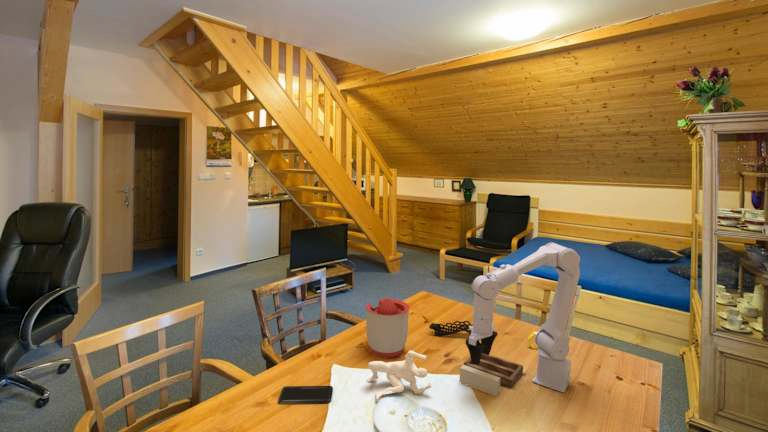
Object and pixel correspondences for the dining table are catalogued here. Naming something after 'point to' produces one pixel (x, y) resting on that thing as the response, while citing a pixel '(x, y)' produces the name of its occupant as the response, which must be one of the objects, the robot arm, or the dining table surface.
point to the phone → (306, 395)
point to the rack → (498, 369)
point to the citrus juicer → (387, 327)
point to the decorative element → (441, 332)
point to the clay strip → (480, 380)
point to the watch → (530, 338)
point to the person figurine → (399, 373)
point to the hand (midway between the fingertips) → (480, 358)
